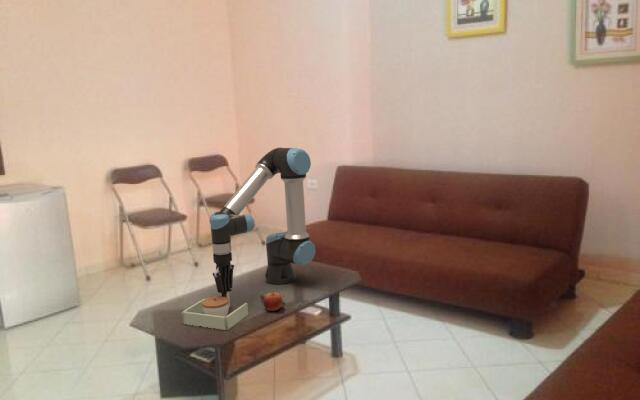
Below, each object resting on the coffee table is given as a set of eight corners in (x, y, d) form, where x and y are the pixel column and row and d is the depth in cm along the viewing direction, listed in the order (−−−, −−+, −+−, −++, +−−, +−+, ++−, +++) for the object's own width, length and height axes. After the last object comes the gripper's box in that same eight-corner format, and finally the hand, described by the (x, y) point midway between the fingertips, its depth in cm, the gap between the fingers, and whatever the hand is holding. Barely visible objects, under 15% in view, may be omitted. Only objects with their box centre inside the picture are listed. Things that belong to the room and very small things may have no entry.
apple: (286, 309, 222) (285, 291, 221) (270, 314, 218) (269, 296, 216) (276, 304, 229) (275, 286, 227) (260, 309, 224) (259, 291, 223)
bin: (205, 309, 227) (204, 298, 226) (248, 314, 219) (247, 303, 218) (182, 324, 213) (181, 312, 212) (227, 330, 205) (226, 318, 204)
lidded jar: (224, 324, 210) (222, 302, 208) (199, 324, 212) (197, 301, 210) (233, 314, 220) (232, 292, 219) (209, 313, 222) (207, 292, 221)
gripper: (223, 247, 226) (227, 300, 231) (205, 256, 215) (210, 311, 219) (238, 248, 223) (242, 302, 228) (221, 257, 212) (225, 313, 216)
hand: (226, 306), depth 223 cm, fingers closed
